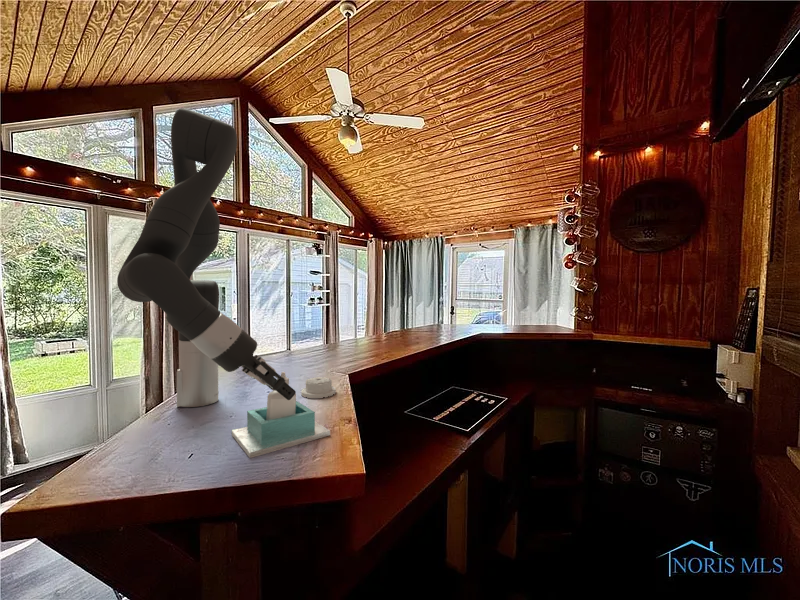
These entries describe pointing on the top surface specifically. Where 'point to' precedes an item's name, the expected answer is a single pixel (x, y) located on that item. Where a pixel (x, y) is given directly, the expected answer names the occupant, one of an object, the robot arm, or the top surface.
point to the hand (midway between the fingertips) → (284, 391)
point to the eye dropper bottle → (280, 404)
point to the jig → (278, 431)
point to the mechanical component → (318, 388)
